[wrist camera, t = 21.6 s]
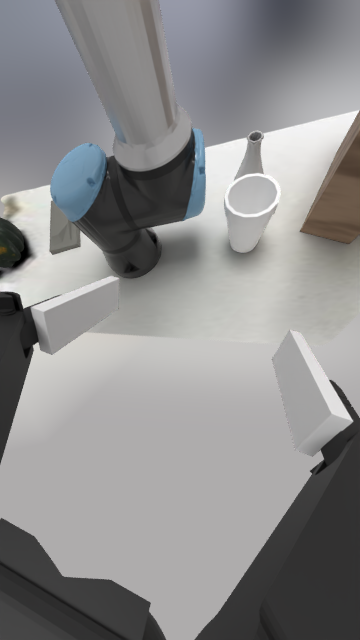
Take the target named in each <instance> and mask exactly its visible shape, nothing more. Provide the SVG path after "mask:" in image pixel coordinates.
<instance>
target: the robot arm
mask: <svg viewBox="0 0 360 640" xmlns="http://www.w3.org/2000/svg"><path fill="white" fill-rule="evenodd" d="M55 2H56V4H57V7H58V9H59V11H60V13H61V15H62V17H63V20H64V22H65V24H66V26H67V28H68V31H69V33H70V35H71V37H72V39H73V42H74V44H75V46H76V48H77V50H78V52H79V54H80V57H81V59H82V61H83V63H84V65H85V68H86V70H87V72H88V74H89V76H90V79H91V81H92V83H93V85H94V87H95V90H96V92H97V94H98V96H99V98H100V100H101V103H102V105H103V107H104V109H105V111H106V114H107V116H108V118H109V120H110V122H111V124H112V127H113V128H114V131H115V133H116V134H115V138H114V143H113V153H114V156H111V157H106V154H105V152H104V151H103V150H101V149H100V147H99V146H98V145H95V144H91V143H86V144H82V145H80V146H78V147H76V148H75V149H73V150H72V151H70V152H69V153H68V154H67V155H66V156H65V157H64V158H63V159H62V161H61V162H60V164H59V165H58V166H57V168H56V170H55V172H54V174H53V177H52V180H51V187H50V191H51V196H52V199H53V201H54V203H55V204H56V206H57V207H58V208H59V209H60V210H61V211H62V212H63V213H64V214H65V215H66V217H67V219H68V220H70V221H71V222H72V223H73V224H74V225H75V226H76V227H78V228H79V229H80V230H81V231H82V232H83V233H84V234H85V235H86V236H87V237H88V238H89V239H91V240H92V241H93V242H94V243H95V244H96V245H97V246H98V247H99V248H100V249H101V250H102V251H103V254H104V256H105V258H106V260H107V262H108V264H109V266H110V267H111V268H112V269H113V270H114V271H115V272H116V273H117V274H119V275H120V276H122V277H126V278H136V277H140V276H142V275H144V274H146V273H147V272H149V271H150V270H151V269H152V268H153V267H154V266H155V265H156V263H157V262H158V260H159V257H160V254H161V244H160V241H159V239H158V237H157V235H156V233H155V232H154V230H153V229H152V228H150V227H154V226H159V225H164V224H169V223H174V222H178V221H184V220H186V219H188V218H192V217H195V216H198V215H199V214H200V213H201V212H202V210H203V208H204V204H205V190H206V175H205V148H204V139H203V134H202V131H201V130H200V129H194V128H193V129H192V123H191V119H190V116H189V114H188V113H187V112H186V111H185V110H184V109H183V108H182V107H180V106H179V105H177V103H176V97H175V92H174V86H173V81H172V74H171V68H170V63H169V57H168V51H167V45H166V39H165V34H164V28H163V22H162V17H161V10H160V4H159V0H55ZM119 279H120V278H117V277H113V276H109V277H107V278H104V279H101V280H99V281H96V282H94V283H91V284H89V285H86V286H84V287H81V288H78V289H76V290H73V291H71V292H68V293H66V294H63V295H58V296H55V297H53V298H51V299H47V300H45V301H42V302H40V303H37V304H34V305H32V306H29V307H27V308H24V309H23V306H22V302H21V298H20V295H19V294H17V293H14V292H0V463H1V460H2V457H3V453H4V450H5V446H6V443H7V440H8V436H9V433H10V429H11V426H12V423H13V419H14V416H15V412H16V408H17V406H18V402H19V399H20V395H21V392H22V389H23V385H24V381H25V378H26V375H27V372H28V368H29V365H30V361H31V358H32V354H33V351H34V350H33V345H34V344H36V343H37V342H39V345H40V350H41V351H44V352H46V353H49V354H51V355H52V354H54V353H55V352H57V351H58V350H60V349H61V348H62V347H64V346H65V345H67V344H68V343H70V342H71V341H73V340H74V339H76V338H77V337H78V336H80V335H81V334H83V333H84V332H86V331H87V330H89V329H90V328H92V327H93V326H94V325H96V324H97V323H99V322H100V321H102V320H103V319H105V318H106V317H107V316H109V315H110V314H112V313H113V312H115V311H116V310H118V307H119ZM272 361H273V365H274V369H275V373H276V377H277V381H278V385H279V389H280V392H281V397H282V401H283V405H284V409H285V412H286V416H287V420H288V424H289V428H290V432H291V436H292V440H293V444H294V448H295V450H297V451H299V452H302V453H305V454H307V455H310V456H314V455H315V454H316V453H317V452H319V451H320V450H321V452H322V454H323V457H324V460H323V461H322V462H320V463H319V464H318V465H317V466H315V467H314V468H313V469H312V470H311V471H310V472H311V473H312V475H311V477H310V478H309V480H308V481H307V483H306V484H305V486H304V487H303V489H302V490H301V491H300V493H299V494H298V496H297V497H296V499H295V500H294V502H293V503H292V505H291V506H290V508H289V509H288V511H287V512H286V514H285V515H284V516H283V518H282V520H281V521H280V522H279V524H278V525H277V527H276V528H275V530H274V531H273V533H272V534H271V536H270V537H269V539H268V540H267V542H266V543H265V545H264V546H263V548H262V549H261V551H260V552H259V553H258V555H257V556H256V558H255V560H254V561H253V562H252V564H251V565H250V567H249V568H248V570H247V571H246V573H245V574H244V576H243V577H242V579H241V580H240V582H239V583H238V585H237V586H236V588H235V589H234V590H233V592H232V594H231V595H230V596H229V598H228V599H227V601H226V602H225V604H224V605H223V607H222V608H221V610H220V611H219V612H218V614H217V615H216V616H215V617H214V618H213V619H212V620H211V621H210V622H209V623H208V624H207V625H206V626H205V627H204V629H203V630H202V631H201V633H199V635H198V636H197V637H196V639H195V640H360V418H359V416H358V415H357V413H356V412H355V410H354V408H353V407H351V404H350V402H349V401H348V400H347V398H346V396H345V394H344V393H343V391H342V390H341V388H339V386H337V384H336V383H335V382H333V381H332V380H329V379H328V378H327V376H326V374H325V373H324V371H323V369H322V368H321V366H320V364H319V363H318V361H317V359H316V357H315V356H314V354H313V352H312V351H311V349H310V347H309V346H308V344H307V342H306V340H305V339H304V337H303V335H302V334H301V333H299V332H296V331H292V330H289V332H288V333H287V335H286V337H285V338H284V340H283V342H282V343H281V345H280V347H279V348H278V350H277V352H276V353H275V355H274V357H273V358H272ZM150 604H151V603H150V602H148V601H146V600H145V599H143V598H141V597H140V596H138V595H136V594H134V593H133V592H131V591H129V590H127V589H126V588H124V587H122V586H120V585H119V584H117V583H115V582H113V581H112V580H104V579H88V578H71V577H64V576H62V575H61V573H60V572H59V570H58V569H57V567H56V566H55V564H54V563H53V561H52V560H51V558H50V557H49V556H48V554H47V553H46V552H45V550H44V549H43V548H42V546H41V545H40V543H39V542H38V541H37V539H36V538H35V537H34V536H32V535H31V534H29V533H27V532H25V531H24V530H22V529H20V528H18V527H16V526H15V525H13V524H11V523H9V522H8V521H6V520H4V519H2V518H1V519H0V640H166V639H165V636H164V634H163V632H162V630H161V629H160V627H159V625H158V624H157V622H156V620H155V619H154V618H153V616H152V615H151V613H150V612H149V607H150Z"/></svg>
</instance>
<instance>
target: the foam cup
mask: <svg viewBox="0 0 360 640" xmlns="http://www.w3.org/2000/svg"><path fill="white" fill-rule="evenodd" d="M280 194H281V190H280V187H279V184H278V182H277V181H276V180H274V179H273V178H272V177H271V176H268V175H264V174H260V173H255V174H247V175H244V176H242V177H240V178H238V179H236V180H235V181H234V182H233V183H232V184H231V185H230V186H229V187H228V188H227V191H226V194H225V197H224V209H225V214H226V217H227V224H228V231H229V239H230V244H231V247H232V248H233V250H234V251H237V252H239V253H246V252H249V251H251V250H252V249H253V248H254V247H255V246H256V245H257V243H258V241H259V239H260V237H261V235H262V233H263V232H264V230H265V228H266V226H267V224H268V222H269V220H270V218H271V216H272V215H273V214H274V213H275V210H276V207H277V204H278V201H279V198H280Z"/></svg>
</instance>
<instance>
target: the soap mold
mask: <svg viewBox="0 0 360 640" xmlns="http://www.w3.org/2000/svg"><path fill="white" fill-rule="evenodd" d="M76 247H80V229H79V228H78V227H76V226H75V225H74V224H73V223H72V222H71V221H70V220H68V219H67V217H66V215H65V214H64V213H63V212H62V211H61V210H60V209H59V208H58V207H57V206H56V204H55V203H54V201H51V221H50V252H51V253H52V255H54V254H57V253H60V252H63V251H66V250H69V249H73V248H76Z"/></svg>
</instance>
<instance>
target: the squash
mask: <svg viewBox="0 0 360 640" xmlns="http://www.w3.org/2000/svg"><path fill="white" fill-rule="evenodd" d="M23 244H24V240H23V236H22V233H21V232H20V230H19V229H18V228H17V227H16V226H14V225H13V224H12V223H10V222H9V221H7V220H5V219H3V218H0V267H11V266H13V265H14V263H15V261H18V260H20V258H21V254H20V252H22V251H23V250H24V245H23Z"/></svg>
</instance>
